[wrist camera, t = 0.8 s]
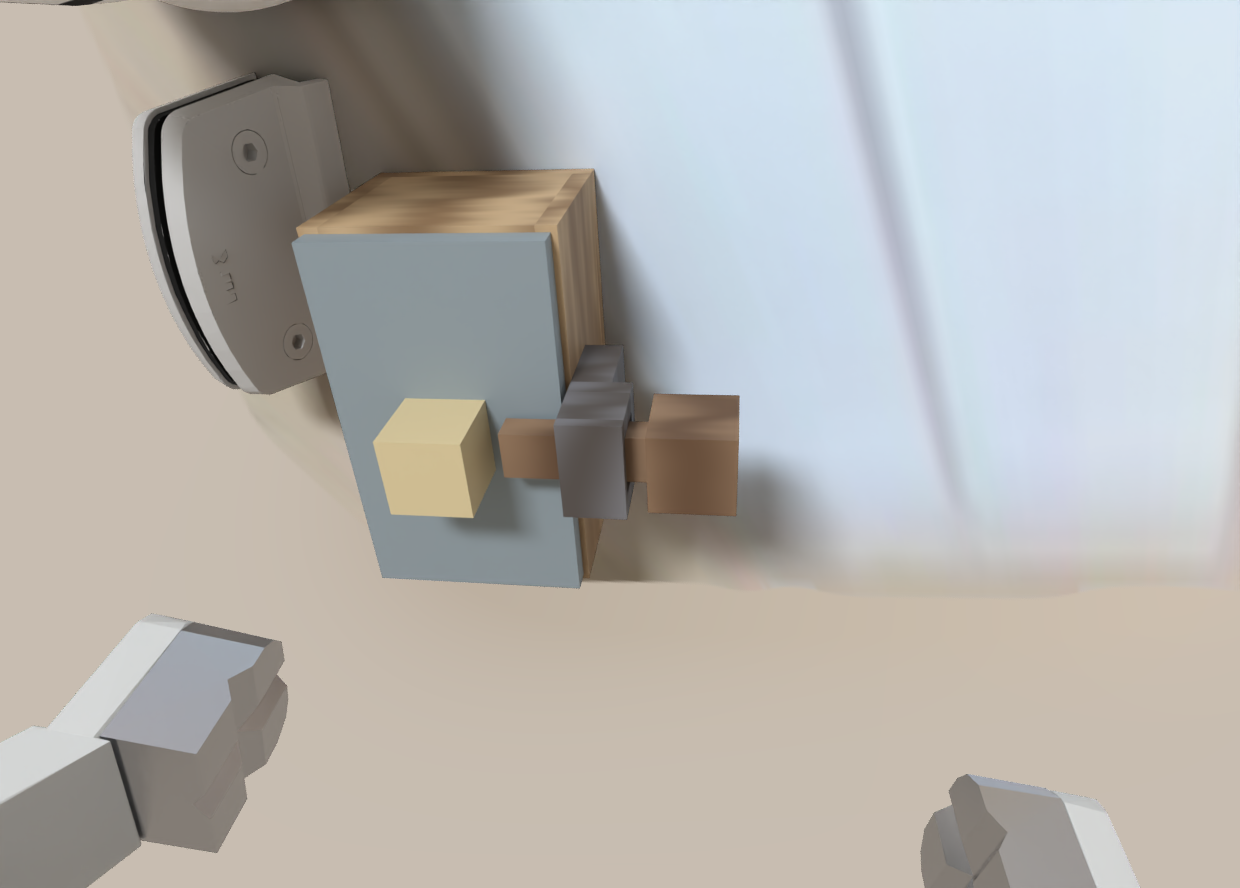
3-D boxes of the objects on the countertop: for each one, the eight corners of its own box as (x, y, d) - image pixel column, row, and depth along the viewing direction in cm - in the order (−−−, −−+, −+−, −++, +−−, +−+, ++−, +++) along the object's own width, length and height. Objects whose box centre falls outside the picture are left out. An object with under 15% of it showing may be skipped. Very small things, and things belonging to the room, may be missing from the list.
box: (649, 167, 42) (612, 258, 30) (658, 479, 53) (633, 636, 41) (380, 172, 44) (247, 259, 33) (441, 471, 55) (357, 619, 43)
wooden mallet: (739, 395, 37) (738, 440, 34) (736, 466, 39) (736, 516, 36) (510, 391, 39) (488, 433, 35) (519, 459, 41) (499, 506, 38)
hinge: (382, 359, 51) (257, 433, 43) (327, 345, 53) (197, 414, 45) (326, 71, 42) (155, 103, 34) (262, 67, 44) (87, 96, 36)
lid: (555, 225, 35) (522, 275, 30) (586, 562, 46) (566, 642, 40) (313, 227, 37) (243, 275, 32) (396, 552, 47) (353, 628, 42)
